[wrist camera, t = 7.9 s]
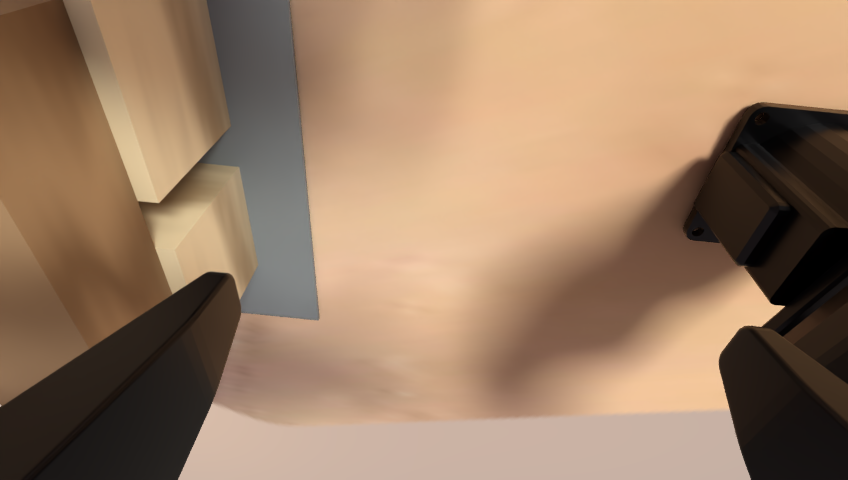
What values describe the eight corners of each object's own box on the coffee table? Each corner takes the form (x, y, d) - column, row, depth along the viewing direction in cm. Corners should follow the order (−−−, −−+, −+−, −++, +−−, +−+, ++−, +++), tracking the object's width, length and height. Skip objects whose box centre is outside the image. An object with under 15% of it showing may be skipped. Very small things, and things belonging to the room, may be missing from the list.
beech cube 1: (199, -35, 16) (90, 0, 11) (231, 125, 20) (158, 203, 15) (28, -52, 16) (-151, -24, 11) (92, 112, 20) (-24, 184, 15)
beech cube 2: (239, 166, 21) (174, 249, 16) (258, 264, 25) (210, 355, 20) (108, 153, 21) (6, 233, 16) (147, 253, 25) (73, 341, 20)
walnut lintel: (194, 353, 20) (144, 442, 17) (91, 343, 20) (22, 429, 17) (61, -3, 11) (-93, 42, 8) (-120, -21, 11) (-344, 17, 8)
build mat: (272, -181, 14) (270, -181, 14) (319, 317, 27) (318, 320, 27) (-128, -220, 14) (-135, -221, 14) (119, 297, 27) (117, 300, 27)
